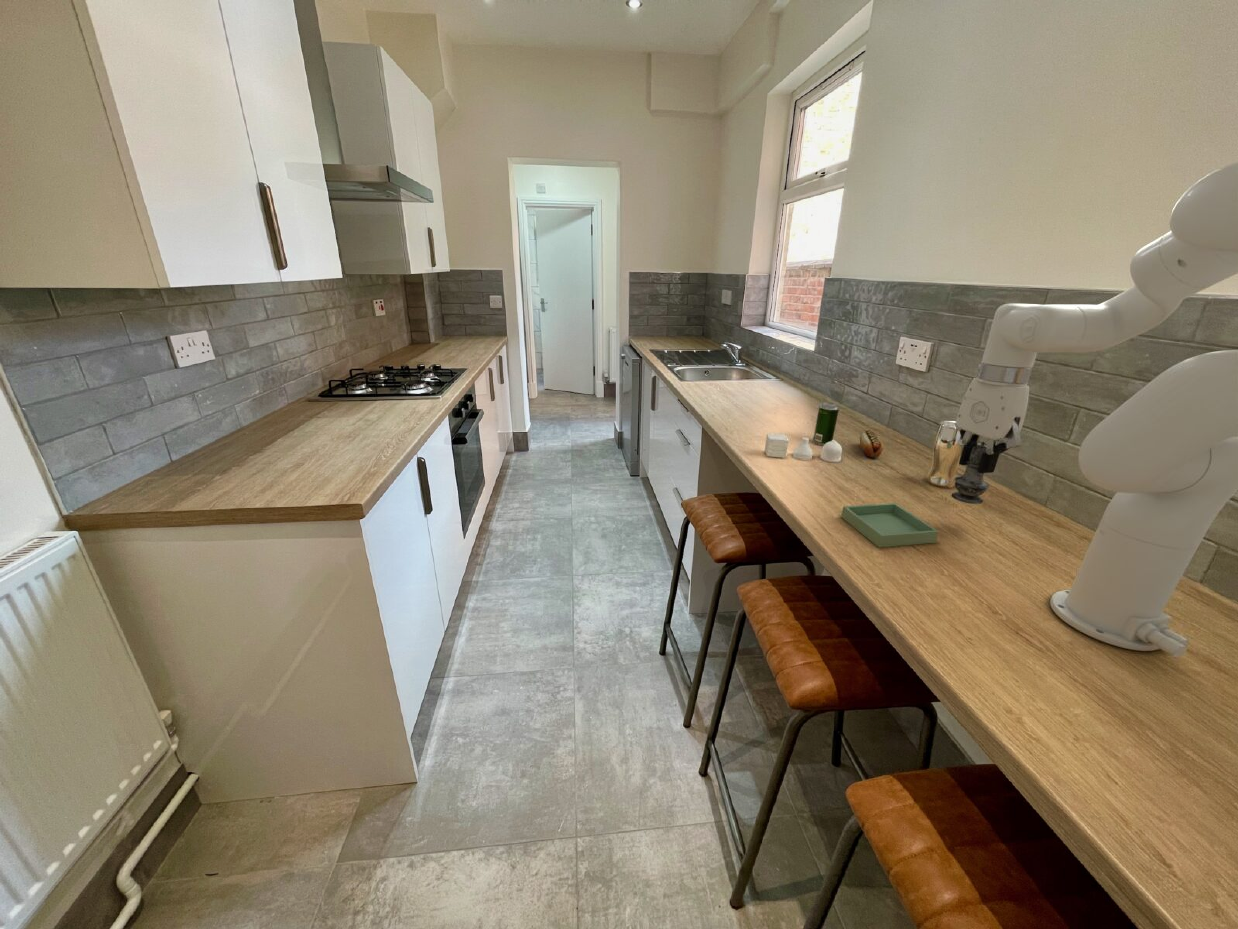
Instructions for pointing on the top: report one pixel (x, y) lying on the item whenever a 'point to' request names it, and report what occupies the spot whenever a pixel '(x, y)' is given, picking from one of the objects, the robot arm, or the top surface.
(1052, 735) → the top surface
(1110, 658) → the top surface
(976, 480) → the salt shaker
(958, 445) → the beer glass
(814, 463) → the top surface
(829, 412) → the beer can
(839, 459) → the container set
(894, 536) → the serving tray
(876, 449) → the hot dog
